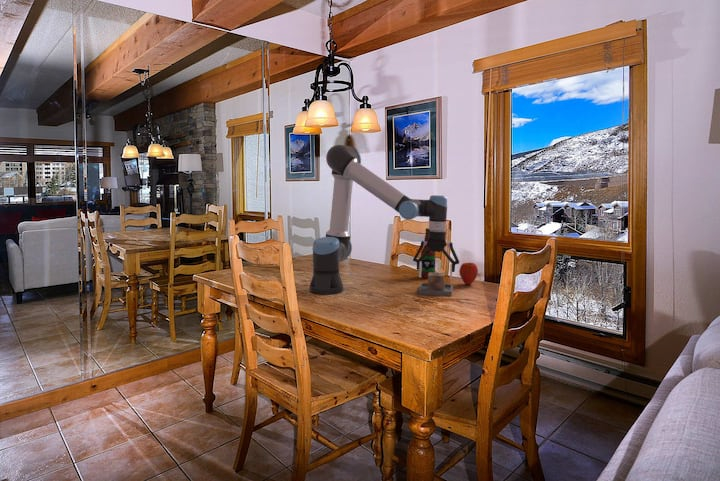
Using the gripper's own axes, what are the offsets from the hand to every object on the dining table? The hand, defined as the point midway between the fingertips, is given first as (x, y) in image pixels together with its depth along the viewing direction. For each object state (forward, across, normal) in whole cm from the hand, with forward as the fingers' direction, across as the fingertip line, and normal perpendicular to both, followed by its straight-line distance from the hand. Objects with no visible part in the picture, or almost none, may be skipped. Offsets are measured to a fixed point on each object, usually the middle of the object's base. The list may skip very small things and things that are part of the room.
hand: (435, 278), depth 206 cm
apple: (+6, +15, +16) cm, 22 cm away
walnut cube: (+5, +1, 0) cm, 5 cm away
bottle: (+6, -5, +28) cm, 29 cm away
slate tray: (+6, +1, 0) cm, 6 cm away
